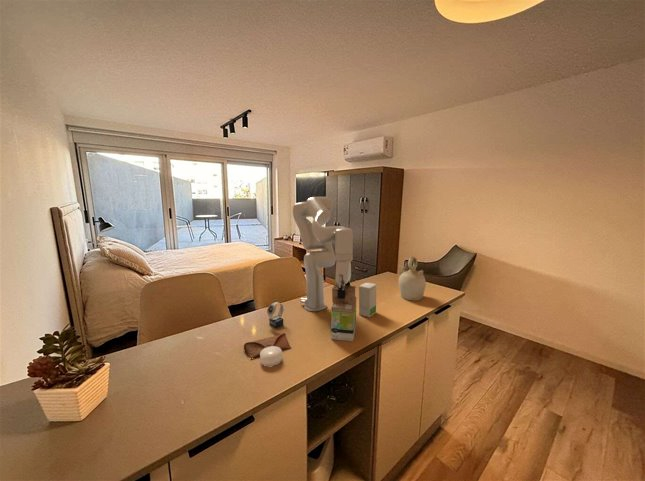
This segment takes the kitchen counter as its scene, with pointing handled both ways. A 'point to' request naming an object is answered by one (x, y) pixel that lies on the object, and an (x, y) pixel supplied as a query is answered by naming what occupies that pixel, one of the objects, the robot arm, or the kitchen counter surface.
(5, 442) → the kitchen counter surface
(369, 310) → the skincare box
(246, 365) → the kitchen counter surface
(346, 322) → the tea box
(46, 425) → the kitchen counter surface
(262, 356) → the cream white dome
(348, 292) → the walnut box
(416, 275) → the jug
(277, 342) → the sunglasses case
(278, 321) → the watch
